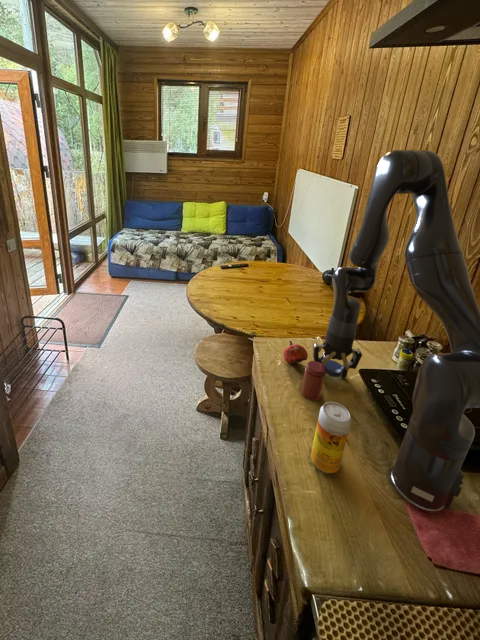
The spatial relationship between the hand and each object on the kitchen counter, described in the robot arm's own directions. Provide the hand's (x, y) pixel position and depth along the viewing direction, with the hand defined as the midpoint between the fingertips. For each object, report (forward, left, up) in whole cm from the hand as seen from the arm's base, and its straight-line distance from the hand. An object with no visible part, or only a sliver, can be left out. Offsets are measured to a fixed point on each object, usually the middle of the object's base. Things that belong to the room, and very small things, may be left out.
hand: (331, 374), depth 97 cm
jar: (+8, +10, 0) cm, 12 cm away
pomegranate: (+11, -3, 0) cm, 11 cm away
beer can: (+8, +31, 0) cm, 32 cm away
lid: (0, 0, +3) cm, 3 cm away
